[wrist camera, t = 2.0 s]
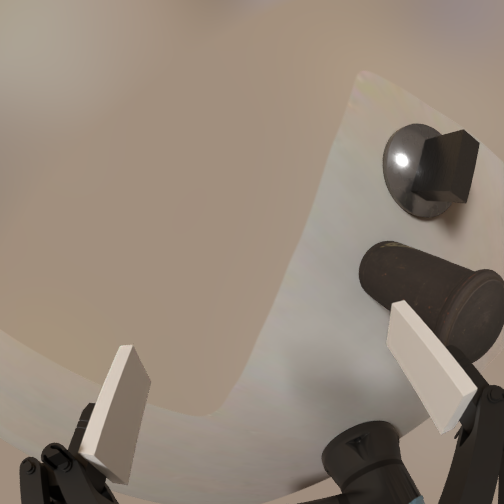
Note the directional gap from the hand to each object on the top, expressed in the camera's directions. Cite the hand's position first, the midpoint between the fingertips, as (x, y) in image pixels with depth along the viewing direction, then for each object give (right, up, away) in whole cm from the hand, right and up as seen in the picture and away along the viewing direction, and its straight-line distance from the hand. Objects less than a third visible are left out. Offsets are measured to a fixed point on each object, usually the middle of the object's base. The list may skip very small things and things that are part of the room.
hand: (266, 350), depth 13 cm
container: (+17, +2, +23) cm, 29 cm away
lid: (+23, +16, +21) cm, 35 cm away
